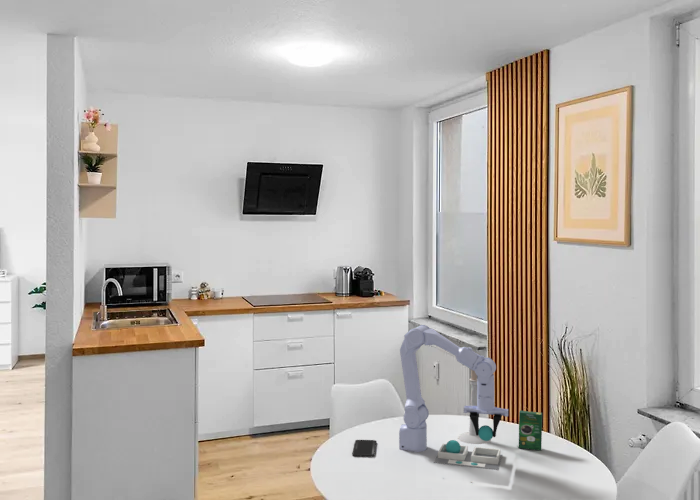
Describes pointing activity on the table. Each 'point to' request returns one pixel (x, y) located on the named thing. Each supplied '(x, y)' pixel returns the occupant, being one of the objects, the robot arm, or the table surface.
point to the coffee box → (530, 430)
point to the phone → (364, 448)
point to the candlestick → (471, 435)
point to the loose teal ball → (485, 433)
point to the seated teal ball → (453, 447)
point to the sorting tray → (471, 457)
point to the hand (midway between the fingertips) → (485, 435)
